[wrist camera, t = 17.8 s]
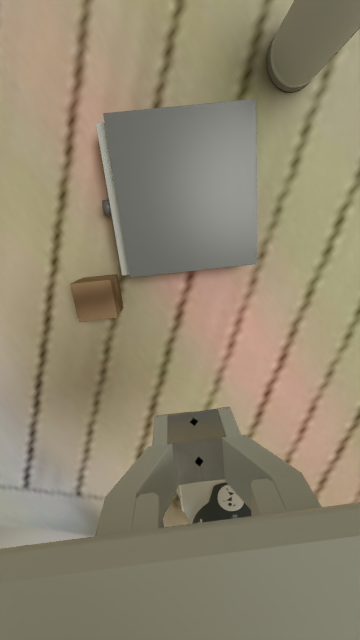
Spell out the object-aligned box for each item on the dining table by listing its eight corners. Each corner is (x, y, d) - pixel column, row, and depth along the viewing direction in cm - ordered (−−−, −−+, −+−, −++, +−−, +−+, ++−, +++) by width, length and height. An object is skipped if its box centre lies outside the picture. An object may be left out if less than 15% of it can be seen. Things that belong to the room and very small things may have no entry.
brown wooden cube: (123, 307, 38) (117, 317, 33) (90, 311, 38) (79, 321, 33) (117, 274, 36) (110, 279, 31) (82, 277, 36) (70, 284, 31)
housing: (244, 260, 37) (256, 263, 32) (134, 272, 36) (130, 277, 31) (241, 120, 31) (256, 98, 26) (113, 133, 31) (103, 113, 26)
